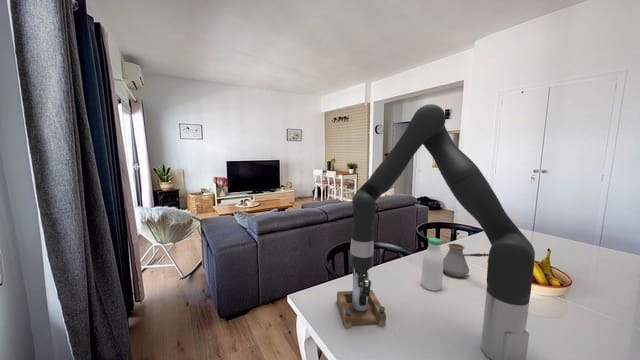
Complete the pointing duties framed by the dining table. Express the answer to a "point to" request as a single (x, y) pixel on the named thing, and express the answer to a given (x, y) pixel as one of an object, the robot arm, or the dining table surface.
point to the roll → (357, 296)
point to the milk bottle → (432, 266)
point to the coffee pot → (457, 261)
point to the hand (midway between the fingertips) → (360, 299)
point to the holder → (355, 317)
